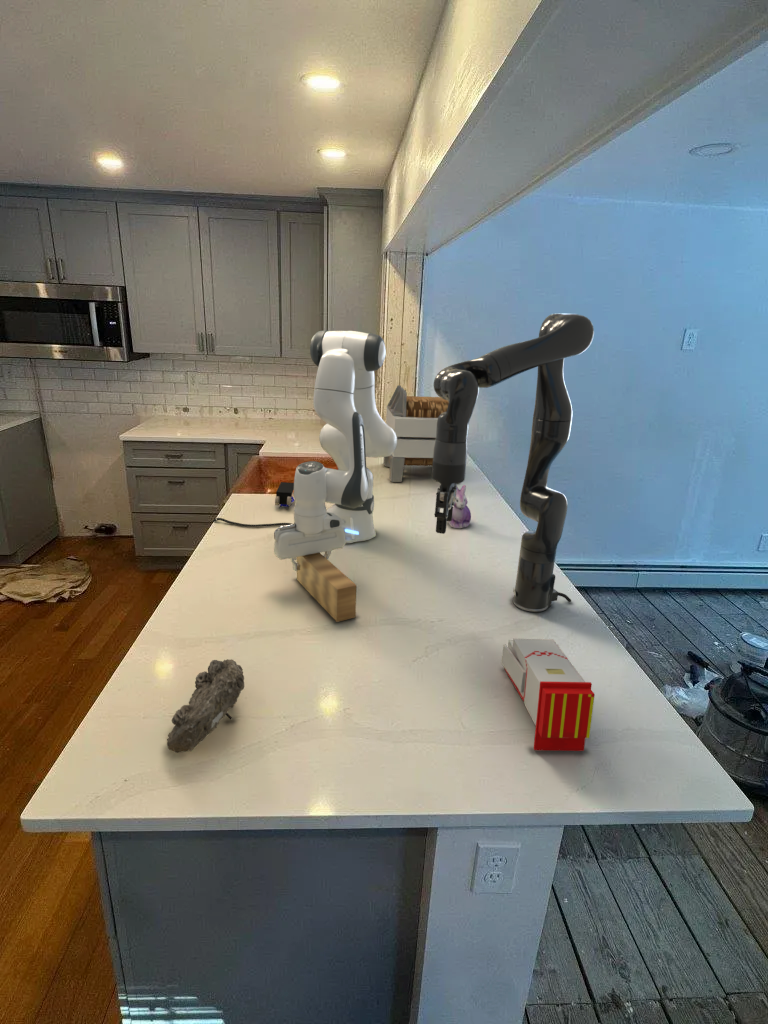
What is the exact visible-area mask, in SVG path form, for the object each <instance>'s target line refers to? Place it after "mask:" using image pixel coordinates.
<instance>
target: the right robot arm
mask: <svg viewBox="0 0 768 1024" xmlns="http://www.w3.org/2000/svg"><path fill="white" fill-rule="evenodd" d="M594 335H595V330H594V324H593V323H592V321H591V319H589V318H588V317H587V316H585V315H582V314H578V313H562V312H561V313H559V312H558V313H551V314H549V315H548V316H546V317H545V319H544V320H543V321H542V323H541V325H540V328H539V332H538V337H536V338H533V339H528V340H524V341H519V342H515V343H512V344H511V343H510V344H507V345H504V346H501V347H498V348H496V349H493V350H491V351H490V352H487V353H485V354H483V355H481V356H479V357H477V358H473V359H469V360H465V361H461V362H457V363H454V364H450V365H448V366H446V367H444V368H443V369H441V370H440V371H439V372H438V373H437V374H436V376H435V377H434V380H433V390H434V393H435V394H436V395H437V397H441V398H442V399H445V400H448V401H449V405H448V408H447V412H444V413H441V414H440V415H439V417H438V419H437V429H436V440H435V445H434V453H433V466H432V465H431V467H432V468H431V479H432V480H434V481H435V482H438V483H440V484H439V487H438V488H437V491H436V493H435V495H436V496H435V497H436V498H435V508H434V509H435V510H434V514H433V515H434V518H436V523H435V532H436V534H442V535H444V534H446V533H447V524H448V522H449V521H451V520H452V514H453V507H454V504H455V502H454V501H455V500H456V492H457V487H458V484H462V483H463V482H464V481H465V479H466V469H467V459H468V437H469V425H470V421H471V418H472V416H473V413H474V409H475V407H476V404H477V401H478V397H479V392H480V388H481V389H487V388H492V387H494V386H496V385H499V384H501V383H503V382H506V381H507V380H509V379H511V378H513V377H516V376H518V375H520V374H522V373H525V372H528V371H529V370H532V369H535V368H537V376H536V377H537V378H536V389H535V401H534V408H533V415H532V422H531V423H532V425H531V434H530V442H529V443H530V444H529V451H528V457H527V463H526V464H527V465H526V470H525V474H524V479H523V484H522V487H521V493H520V499H519V508H520V512H521V514H522V515H523V516H524V517H526V518H528V519H531V521H535V522H537V525H536V528H535V530H529V531H526V532H524V533H523V534H522V535H521V541H520V548H519V549H520V550H519V557H518V564H517V570H516V578H515V585H514V588H512V592H513V598H512V603H513V605H514V606H515V607H516V608H518V609H519V610H521V611H522V610H523V611H526V612H530V613H540V612H544V611H546V610H547V609H548V608H551V606H552V602H556V601H558V597H562V598H564V599H565V600H566V601H567V602H568V603H572V599H571V598H570V597H569V596H568V595H567V594H566V593H562V592H560V591H558V590H556V589H555V582H556V574H555V573H554V568H555V562H556V556H557V549H558V545H559V542H560V541H561V539H562V536H563V532H564V526H565V522H566V517H567V513H568V499H567V497H566V495H565V494H564V493H563V492H560V491H559V490H555V489H553V488H550V487H548V478H549V473H550V469H551V466H552V464H553V463H554V462H555V460H556V459H557V457H558V456H559V455H560V454H561V452H562V451H563V450H564V448H565V447H566V445H567V443H568V441H569V439H570V436H571V430H572V429H571V428H572V422H573V408H572V407H573V406H572V402H571V399H570V395H569V392H568V389H567V387H566V383H565V378H564V377H565V376H564V364H565V359H567V358H571V357H574V356H578V355H581V354H582V353H583V352H585V351H586V350H588V348H590V346H591V345H592V342H593V339H594ZM441 509H443V510H442V512H441Z"/></svg>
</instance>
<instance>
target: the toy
mask: <svg viewBox="0 0 768 1024" xmlns="http://www.w3.org/2000/svg"><path fill="white" fill-rule="evenodd" d="M500 661H501V662H500V663H501V664H502V666H503V668H504V671H505V673H506V674H507V676H508V678H509V679H510V681H511V684H512V685H513V686H514V688H515V691H517V693H518V695H519V696H520V699H521V700H522V702H523V704H524V706H525V708H526V711H527V712H528V714H529V716H530V718H531V720H532V723H533V724H534V726H535V731H534V741H533V750H534V751H554V752H555V751H556V752H557V751H558V752H564V751H565V752H584V751H585V743H586V739H590V737H591V736H590V735H591V727H592V718H593V710H594V702H595V692H593V690H592V685H593V684H592V682H590V681H585V679H584V678H583V676H582V675H581V674H580V673H579V672H578V670H577V669H576V668H575V666H574V665H573V663H572V662H571V661H570V659H569V658H568V657H567V655H566V654H565V653H564V651H563V650H562V649H561V648H560V646H559V644H558V643H557V642H556V640H554V638H517V637H515V638H512V639H508V643H507V644H503V647H502V653H501V660H500Z"/></svg>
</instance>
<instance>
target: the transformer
mask: <svg viewBox="0 0 768 1024" xmlns="http://www.w3.org/2000/svg"><path fill="white" fill-rule="evenodd" d="M407 394H408V393H407V390H406V389H404V388H403V387H402V385H399V384H398V385H397V386H396V388H395V390H394V392H393V394H392V395H391V398H390V400H389V402H388V404H387V405H386V413H385V414H386V415H385V423H386V424H387V425H388V426H390V427H391V428H392V429H393V430H394V432H395V434H396V436H397V446H396V449H395V451H394V452H393V453H392V454H391V455H390V456H387V457H383V466H384V467H388V468H389V475H388V476H389V477H388V478H389V480H390V482H391V483H402V482H403V475H404V469H405V466H406V467H407V466H411V467H412V466H413V467H415V466H416V467H417V466H418V467H432V466H433V453H434V445H435V440H436V429H437V419H438V417H439V415H440V414H441V413H444V412H447V408H448V405H449V401H448V400H445V399H442V398H441V397H439V396H415V395H414V396H413V395H412V396H411V395H407Z"/></svg>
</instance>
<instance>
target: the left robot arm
mask: <svg viewBox="0 0 768 1024" xmlns="http://www.w3.org/2000/svg"><path fill="white" fill-rule="evenodd" d="M309 353H310V359H311V361H312V362H313V364H314V365H315V366H317V371H316V377H315V381H314V388H313V389H314V390H313V399H312V401H313V403H312V405H313V409H314V412H315V413H316V415H317V416H318V418H320V420H321V421H323V422H324V423H325V424H324V425H323V427H321V429H320V432H319V437H318V438H319V439H318V441H319V444H320V447H321V448H322V450H323V451H324V452H325V453H326V454H328V455H329V456H330V457H331V458H332V460H333V461H334V464H335V465H336V467H337V469H336V468H329V467H325V465H324V464H323V463H322V462H319V461H314V460H310V461H304V462H302V463H300V464H298V465H297V466H296V468H295V472H294V478H293V483H294V490H293V493H294V498H293V499H294V502H295V503H294V507H293V523H291V522H275V523H274V522H273V523H261V524H260V523H259V524H250V523H249V524H247V523H241V522H235V521H231V520H228V519H225V518H222V517H217V518H213V520H212V523H215V522H217V521H221V522H224V523H227V524H229V525H236V526H239V527H245V528H246V527H247V528H262V527H263V528H264V527H275V526H276V527H277V526H278V527H277V528H276V529H275V530H274V531H273V539H274V545H273V554H274V556H275V557H276V558H277V559H279V560H290V562H291V563H292V570H293V571H294V572H297V571H298V570H300V564H299V563H298V562H297V557H299V556H304V555H309V554H315V553H323V556H324V557H325V558H326V559H327V560H329V559H330V557H331V555H332V551H335V550H341V549H343V548H344V547H345V546H346V544H352V543H357V542H365V541H368V540H372V539H373V538H375V537H376V535H377V532H376V528H375V523H374V513H373V512H374V509H375V496H374V474H373V472H372V471H371V469H369V468H368V467H367V458H374V459H379V458H384V457H387V456H390V455H391V454H392V453H393V452H394V451H395V449H396V446H397V436H396V434H395V432H394V430H393V429H392V428H391V427H390V426H388V425H387V423H386V421H385V420H384V419H383V418H382V417H381V415H380V413H379V410H378V408H377V403H376V381H375V379H376V377H375V372H376V371H378V370H379V369H381V368H382V366H383V365H384V362H385V359H386V356H387V355H386V354H387V351H386V343H385V339H383V338H382V336H381V335H378V334H376V333H372V332H370V333H368V332H363V331H357V330H329V329H325V330H319V331H316V333H314V335H313V336H312V338H311V340H310V345H309ZM326 503H327V504H328V503H329V504H333V505H331V506H329V507H328V508H327V507H326ZM216 519H217V520H216Z"/></svg>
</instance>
